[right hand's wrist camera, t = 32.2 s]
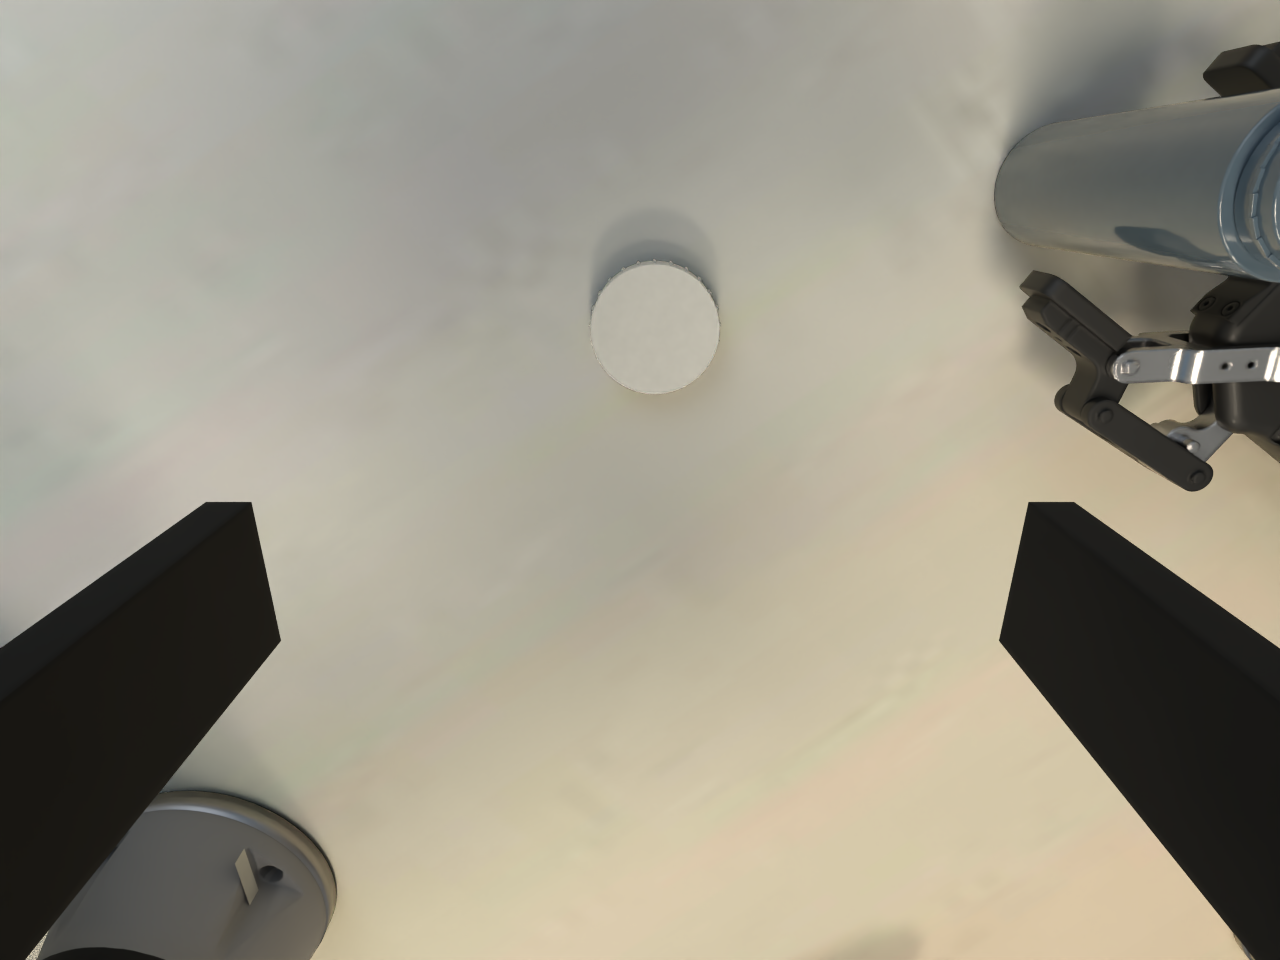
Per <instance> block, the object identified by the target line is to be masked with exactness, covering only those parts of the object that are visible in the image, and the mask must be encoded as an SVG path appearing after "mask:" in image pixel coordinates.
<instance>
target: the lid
mask: <svg viewBox="0 0 1280 960" xmlns="http://www.w3.org/2000/svg"><path fill="white" fill-rule="evenodd" d="M701 281H702V280H701V278H700V277H699V276H698V277H696V276H695V275H694V274H692V273H691V272H690V271H688V268H687V267H685V268H683V267H681V266H679V265H676V264H673V263H672V261H670V262H664V261H656V259H653V261H646V262H641V263H640V262H639V261H637V264H634V265H631V266H629V267H627V268H624V267H623V268H622V269H621V271H620V272H619V273H617V274H616V275H615V276H614V277H613V278H611V277H610V278H609V280H608V283H607V284H606V285H605V287H604V288H603V290H602V291H601V290H600V291H599V293H598V296H599V297H598V299H597V301H596V304H595V305H593V307H592V310H591V311H593V312H592V317H591V322H590V324H589V327H590V336H591V341H590V342H591V344H592V347H593V350H594V353H595V355H596V358H597V360H598V361H599V363H600V365H601V366H602V368H603V369H604V370H605V372H606V373H607V374H608V375H609V376H610V377H611V378H612V379H614V380H615V381H616V382H618V383H619V384H620V385H622V386H624V387H626V388H628V389H630V390H633V391H636V392H640V393H645V394H664V393H670V392H673V391H676V390H679V389H681V388H684V387H685V386H687V385H689V384H691V383H692V382H693V381H695V380H696V379H697V378H698V377H699V376H700V375H701V374H702V373H703V372H704V371H705V370H706V368H707V367H708V366H709V364H710V362H711V361H712V359H713V358H714V355H715V352H716V349H717V346H718V343H719V341H720V340H719V336H720V326H721V323H720V321H719V316H718V311H717V310H719V309H718V307H717V305H716V304H715V303H714V301H713V299H712V297H711V294H712V293H711V291H710V290H709V289H708V290H707V288H706V287H705V286H704V284H703V283H702V282H701Z"/></svg>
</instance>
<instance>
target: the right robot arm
mask: <svg viewBox="0 0 1280 960" xmlns="http://www.w3.org/2000/svg"><path fill="white" fill-rule="evenodd" d="M280 641H281V639H280V634H279V629H278V625H277V620H276V615H275V611H274V606H273V601H272V597H271V592H270V587H269V583H268V578H267V573H266V568H265V564H264V559H263V554H262V550H261V545H260V540H259V536H258V531H257V526H256V522H255V517H254V512H253V507H252V503H251V502H205V503H204V504H203V505H201V506H200V507H198V508H197V509H196V510H194V511H193V512H191V513H190V514H189V515H187V516H186V517H184V518H183V519H182V520H180V521H179V522H177V523H176V524H175V525H173V526H172V527H170V528H169V529H168V530H166V531H165V532H163V533H162V534H160V535H159V536H158V537H156V538H155V539H153V540H152V541H151V542H149V543H148V544H146V545H145V546H144V547H142V548H141V549H139V550H138V551H137V552H135V553H134V554H132V555H131V556H130V557H128V558H127V559H125V560H124V561H123V562H121V563H120V564H118V565H117V566H116V567H114V568H113V569H111V570H110V571H108V572H107V573H106V574H104V575H103V576H101V577H100V578H99V579H97V580H96V581H94V582H93V583H92V584H90V585H89V586H87V587H86V588H85V589H83V590H82V591H80V592H79V593H78V594H76V595H75V596H73V597H72V598H71V599H69V600H68V601H66V602H65V603H63V604H62V605H61V606H59V607H58V608H56V609H55V610H54V611H52V612H51V613H49V614H48V615H47V616H45V617H44V618H42V619H41V620H40V621H38V622H37V623H35V624H34V625H33V626H31V627H30V628H28V629H27V630H26V631H24V632H23V633H21V634H20V635H19V636H17V637H16V638H14V639H13V640H11V641H10V642H9V643H7V644H6V645H4V646H3V647H2V648H0V960H25V959H26V958H27V957H28V955H29V954H30V953H31V952H32V950H33V949H34V948H35V947H36V945H37V944H38V943H39V942H40V940H41V939H42V938H43V937H44V935H45V934H46V933H47V932H48V930H49V932H48V934H47V936H46V939H45V941H44V943H43V946H42V948H41V951H40V953H39V955H38V958H37V959H36V960H310V958H311V957H312V955H313V954H314V952H315V951H316V949H317V948H318V946H319V944H320V943H321V941H322V939H323V937H324V934H325V932H326V930H327V927H328V925H329V923H330V920H331V918H332V916H333V913H334V909H335V904H336V888H335V882H334V878H333V875H332V872H331V870H330V868H329V865H328V864H327V862H326V860H325V858H324V857H323V855H322V854H321V852H320V851H319V850H318V848H317V847H316V846H315V845H314V844H313V843H312V841H311V840H310V839H309V838H308V837H306V836H305V835H304V834H303V833H302V832H301V831H300V830H299V829H297V828H296V827H295V826H294V825H292V824H291V823H289V822H288V821H286V820H285V819H283V818H282V817H280V816H278V815H277V814H275V813H273V812H271V811H269V810H267V809H265V808H263V807H261V806H258V805H256V804H254V803H251V802H248V801H245V800H242V799H239V798H236V797H232V796H228V795H223V794H218V793H212V792H203V791H173V792H165V793H160V794H158V793H159V792H160V791H161V790H162V788H163V787H164V786H165V785H166V783H167V782H168V781H169V780H170V778H171V777H172V776H173V775H174V773H175V772H176V771H177V770H178V768H179V767H180V766H181V765H182V763H183V762H184V761H185V760H186V758H187V757H188V756H189V755H190V753H191V752H192V751H193V750H194V748H195V747H196V746H197V745H198V743H199V742H200V741H201V740H202V738H203V737H204V736H205V735H206V734H207V732H208V731H209V730H210V729H211V727H212V726H213V725H214V724H215V722H216V721H217V720H218V719H219V717H220V716H221V715H222V714H223V712H224V711H225V710H226V709H227V707H228V706H229V705H230V704H231V702H232V701H233V700H234V699H235V697H236V696H237V695H238V694H239V692H240V691H241V690H242V689H243V687H244V686H245V685H246V684H247V682H248V681H249V680H250V679H251V677H252V676H253V675H254V674H255V672H256V671H257V670H258V669H259V667H260V666H261V665H262V664H263V662H264V661H265V660H266V659H267V658H268V656H269V655H270V654H271V653H272V651H273V650H274V649H275V648H276V646H277V645H278V644H279V643H280ZM999 641H1000V643H1001V644H1002V645H1003V646H1004V648H1005V649H1006V650H1007V651H1008V653H1009V654H1010V655H1011V656H1012V658H1013V659H1014V660H1015V661H1016V662H1017V664H1018V665H1019V666H1020V667H1021V669H1022V670H1023V671H1024V672H1025V674H1026V675H1027V676H1028V677H1029V679H1030V680H1031V681H1032V682H1033V684H1034V685H1035V686H1036V687H1037V689H1038V690H1039V691H1040V692H1041V694H1042V695H1043V696H1044V697H1045V699H1046V700H1047V701H1048V702H1049V704H1050V705H1051V706H1052V707H1053V709H1054V710H1055V711H1056V712H1057V714H1058V715H1059V716H1060V717H1061V719H1062V720H1063V721H1064V722H1065V724H1066V725H1067V726H1068V727H1069V729H1070V730H1071V731H1072V732H1073V734H1074V735H1075V736H1076V737H1077V738H1078V740H1079V741H1080V742H1081V743H1082V745H1083V746H1084V747H1085V748H1086V750H1087V751H1088V752H1089V753H1090V755H1091V756H1092V757H1093V758H1094V760H1095V761H1096V762H1097V763H1098V765H1099V766H1100V767H1101V768H1102V770H1103V771H1104V772H1105V773H1106V775H1107V776H1108V777H1109V778H1110V780H1111V781H1112V782H1113V783H1114V785H1115V786H1116V787H1117V788H1118V790H1119V791H1120V792H1121V793H1122V795H1123V796H1124V797H1125V798H1126V800H1127V801H1128V802H1129V803H1130V805H1131V806H1132V807H1133V808H1134V810H1135V811H1136V812H1137V813H1138V814H1139V816H1140V817H1141V818H1142V819H1143V821H1144V822H1145V823H1146V824H1147V826H1148V827H1149V828H1150V829H1151V831H1152V832H1153V833H1154V834H1155V836H1156V837H1157V838H1158V839H1159V841H1160V842H1161V843H1162V844H1163V846H1164V847H1165V848H1166V849H1167V851H1168V852H1169V853H1170V854H1171V856H1172V857H1173V858H1174V859H1175V861H1176V862H1177V863H1178V864H1179V866H1180V867H1181V868H1182V869H1183V871H1184V872H1185V873H1186V874H1187V876H1188V877H1189V878H1190V879H1191V881H1192V882H1193V883H1194V884H1195V886H1196V887H1197V888H1198V889H1199V891H1200V892H1201V893H1202V894H1203V895H1204V897H1205V898H1206V899H1207V900H1208V902H1209V903H1210V904H1211V905H1212V907H1213V908H1214V909H1215V910H1216V912H1217V913H1218V914H1219V915H1220V917H1221V918H1222V919H1223V920H1224V922H1225V923H1226V924H1227V925H1228V927H1229V928H1230V929H1231V930H1232V932H1233V933H1234V934H1235V935H1236V937H1237V938H1238V939H1239V940H1240V942H1241V943H1242V944H1243V945H1244V947H1245V948H1246V949H1247V950H1248V952H1249V953H1250V954H1251V955H1252V957H1253V958H1254V959H1255V960H1280V648H1278V647H1277V646H1276V645H1274V644H1273V643H1271V642H1270V641H1269V640H1267V639H1266V638H1264V637H1263V636H1261V635H1260V634H1259V633H1257V632H1256V631H1254V630H1253V629H1252V628H1250V627H1249V626H1247V625H1246V624H1245V623H1243V622H1242V621H1240V620H1239V619H1238V618H1236V617H1235V616H1233V615H1232V614H1231V613H1229V612H1228V611H1226V610H1225V609H1224V608H1222V607H1221V606H1219V605H1218V604H1216V603H1215V602H1214V601H1212V600H1211V599H1209V598H1208V597H1207V596H1205V595H1204V594H1202V593H1201V592H1200V591H1198V590H1197V589H1195V588H1194V587H1193V586H1191V585H1190V584H1188V583H1187V582H1186V581H1184V580H1183V579H1181V578H1180V577H1179V576H1177V575H1176V574H1174V573H1173V572H1172V571H1170V570H1169V569H1167V568H1166V567H1164V566H1163V565H1162V564H1160V563H1159V562H1157V561H1156V560H1155V559H1153V558H1152V557H1150V556H1149V555H1148V554H1146V553H1145V552H1143V551H1142V550H1141V549H1139V548H1138V547H1136V546H1135V545H1134V544H1132V543H1131V542H1129V541H1128V540H1127V539H1125V538H1124V537H1122V536H1121V535H1120V534H1118V533H1117V532H1115V531H1114V530H1112V529H1111V528H1110V527H1108V526H1107V525H1105V524H1104V523H1103V522H1101V521H1100V520H1098V519H1097V518H1096V517H1094V516H1093V515H1091V514H1090V513H1089V512H1087V511H1086V510H1084V509H1083V508H1082V507H1080V506H1079V505H1077V504H1076V503H1075V502H1029V503H1028V507H1027V512H1026V517H1025V522H1024V526H1023V531H1022V536H1021V540H1020V545H1019V550H1018V554H1017V559H1016V564H1015V568H1014V573H1013V578H1012V583H1011V587H1010V592H1009V597H1008V601H1007V606H1006V611H1005V615H1004V620H1003V625H1002V629H1001V634H1000V639H999Z"/></svg>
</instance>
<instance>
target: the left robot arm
mask: <svg viewBox="0 0 1280 960" xmlns="http://www.w3.org/2000/svg"><path fill="white" fill-rule="evenodd" d="M1203 78H1204V80H1205V81H1206V82H1207V83H1208V84H1209V85H1210V86H1211V87H1212V88H1213V89H1214V90H1215V91H1216V92H1217V93H1219V94H1220V95H1221V96H1227V95H1233V94H1239V93H1246V92H1252V91H1258V90H1265V89H1271V88H1277V87H1280V42H1276V43H1272V44H1268V45H1263V46H1262V45H1250V46H1246V47H1241V48H1237V49H1233V50H1229V51H1224V52H1222V53H1220V55H1219V56H1218V57H1217V58H1216V59H1215V60H1214V62H1213V63H1212V64H1211V65H1210V66H1209V67H1208V69H1207V70H1206V71H1205V72H1204V73H1203ZM1019 287H1020V289H1021V290H1022V291H1023V292H1025V293H1026V294H1027V295H1028V296H1030V298H1029V299H1028V300H1027V301H1026V302H1025V303H1024V305H1023V306H1022V308H1023V310H1024V312H1025V314H1026V316H1027V319H1029V320H1030V321H1031V322H1033V323H1034V324H1035V325H1036V326H1038V327H1039V328H1040V329H1041V330H1043V331H1044V332H1045V333H1047V334H1048V335H1049V336H1050V337H1051V338H1053V339H1054V340H1055V341H1056V342H1058V343H1059V344H1060V345H1062V346H1063V347H1064V348H1065V349H1067V350H1068V351H1069V352H1070V353H1071V354H1073V356H1074V357H1075V359H1076V364H1077V367H1076V372H1075V374H1074V376H1073V378H1072V381H1071V383H1070V384H1068V385H1065V386H1064V387H1062V388H1061V389H1060V390H1059V391H1058V392H1057V394H1056V396H1055V400H1054V402H1055V406H1056V408H1057V409H1058V410H1059V411H1061V412H1062V413H1064V414H1065V415H1067V416H1068V417H1070V418H1071V419H1073V420H1074V421H1076V422H1077V423H1079V424H1080V425H1082V426H1083V427H1085V428H1087V429H1088V430H1090V431H1091V432H1093V433H1094V434H1096V435H1097V436H1099V437H1100V438H1102V439H1103V440H1105V441H1106V442H1108V443H1109V444H1111V445H1112V446H1114V447H1115V448H1117V449H1119V450H1120V451H1122V452H1123V453H1125V454H1126V455H1128V456H1129V457H1131V458H1132V459H1134V460H1135V461H1137V462H1138V463H1140V464H1141V465H1143V466H1144V467H1146V468H1148V469H1150V470H1151V471H1153V472H1155V473H1157V474H1158V475H1160V476H1162V477H1164V478H1165V479H1167V480H1169V481H1171V482H1172V483H1174V484H1176V485H1178V486H1180V487H1181V488H1183V489H1185V490H1187V491H1198V490H1201V489H1203V488H1204V487H1206V486H1207V485H1208V484H1209V483H1210V481H1211V479H1212V477H1213V469H1212V467H1211V466H1210V465H1209V464H1207V463H1206V461H1207V460H1208V459H1209V458H1210V457H1211V456H1212V455H1213V454H1214V453H1215V451H1216V450H1217V449H1218V448H1219V447H1220V446H1221V445H1222V444H1223V443H1224V442H1225V441H1226V440H1227V439H1228V438H1229V437H1230V436H1231V435H1232V434H1233V433H1237V434H1245V435H1246V436H1247V437H1249V438H1250V439H1251V440H1252V441H1253V442H1255V443H1256V444H1257V445H1258V446H1260V447H1261V448H1262V449H1263V450H1265V451H1266V452H1267V453H1268V454H1269V455H1271V456H1272V457H1273V458H1274V459H1276V460H1277V461H1278V462H1279V463H1280V283H1275V282H1267V281H1261V280H1254V279H1247V278H1241V277H1234V276H1229V277H1228V279H1227V280H1226V281H1224V282H1223V283H1221V284H1220V285H1218V286H1217V287H1216V288H1214V289H1213V290H1211V291H1210V292H1208V293H1207V294H1206V295H1205V296H1204V297H1203V298H1202V299H1201V300H1200V301H1199V302H1198V303H1197V304H1196V305H1195V306H1194V307H1193V308H1192V310H1191V312H1192V313H1194V314H1195V316H1194V318H1193V320H1192V323H1191V325H1190V329H1189V330H1188V331H1167V332H1147V333H1140V334H1139V335H1138V336H1131V335H1130V334H1129V333H1128V332H1127V331H1125V330H1124V329H1123V328H1122V327H1120V326H1119V325H1118V324H1117V323H1116V322H1114V321H1113V320H1112V319H1111V318H1109V317H1108V316H1107V315H1106V314H1105V313H1103V312H1102V311H1101V310H1100V309H1098V308H1097V307H1096V306H1095V305H1094V304H1092V303H1091V302H1090V301H1089V300H1087V299H1086V298H1085V297H1084V296H1083V295H1081V294H1080V293H1079V292H1078V291H1076V290H1075V289H1074V288H1073V287H1072V286H1070V285H1069V284H1068V283H1067V282H1065V281H1064V280H1062V279H1060V278H1059V277H1057V276H1055V275H1052V274H1047V273H1043V272H1038V271H1032V272H1031V274H1030V275H1029V276H1028V277H1027V278H1026V279H1025V281H1024V282H1023V283H1022V284H1021V285H1020V286H1019ZM1167 381H1173V382H1181V383H1188V384H1192V386H1193V398H1194V407H1195V410H1196V412H1197V414H1198V415H1199V416H1198V417H1197V418H1196V419H1194V420H1192V421H1190V422H1187V423H1180V422H1177V421H1174V420H1164V421H1162V422H1160V423H1153V424H1151V425H1149V424H1148V423H1146V422H1145V421H1143V420H1142V419H1140V418H1139V417H1137V416H1136V415H1134V414H1133V413H1131V412H1130V411H1128V410H1127V409H1125V408H1124V407H1122V406H1121V405H1119V404H1118V403H1119V401H1120V399H1121V397H1122V395H1123V393H1124V391H1125V389H1126V387H1127V385H1128V383H1146V382H1167ZM1234 937H1235V940H1236V942H1237V944H1238V945H1239V946H1240V948H1241V949H1242V950H1243V952H1244V953H1245V954H1246V956H1247V957H1248V958H1249V959H1250V960H1255V959H1254V958H1253V957H1252V955H1251V954H1250V953H1249V952H1248V950H1247V949H1246V948H1245V947H1244V945H1243V944H1242V943H1241V942H1240V940H1239V939H1238V938H1237V937H1236V935H1235V934H1234Z"/></svg>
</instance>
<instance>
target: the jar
mask: <svg viewBox="0 0 1280 960" xmlns="http://www.w3.org/2000/svg"><path fill="white" fill-rule="evenodd" d="M995 208H996V212H997V215H998V218H999V220H1000V222H1001V224H1002V226H1003V227H1004V229H1005V230H1006V231H1007V232H1008V233H1009V234H1010V235H1011V236H1012V237H1013V238H1015V239H1016V240H1018V241H1020V242H1022V243H1024V244H1027V245H1031V246H1037V247H1043V248H1050V249H1056V250H1063V251H1070V252H1076V253H1083V254H1089V255H1096V256H1103V257H1109V258H1116V259H1122V260H1129V261H1136V262H1142V263H1149V264H1155V265H1162V266H1168V267H1175V268H1182V269H1188V270H1195V271H1201V272H1208V273H1215V274H1221V275H1228V276H1234V277H1241V278H1247V279H1254V280H1261V281H1267V282H1275V283H1280V87H1277V88H1271V89H1265V90H1258V91H1252V92H1246V93H1239V94H1233V95H1227V96H1221V97H1214V98H1208V99H1202V100H1195V101H1189V102H1183V103H1177V104H1170V105H1164V106H1158V107H1151V108H1145V109H1139V110H1132V111H1126V112H1120V113H1114V114H1107V115H1101V116H1095V117H1088V118H1082V119H1076V120H1069V121H1063V122H1057V123H1052V124H1049V125H1046V126H1043V127H1041V128H1039V129H1037V130H1035V131H1033V132H1032V133H1030V134H1029V135H1027V136H1026V137H1025V138H1023V139H1022V140H1021V141H1020V142H1019V143H1018V144H1017V145H1016V146H1015V147H1014V148H1013V150H1012V151H1011V152H1010V153H1009V155H1008V156H1007V158H1006V159H1005V161H1004V163H1003V165H1002V167H1001V169H1000V172H999V174H998V178H997V181H996V186H995Z"/></svg>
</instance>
